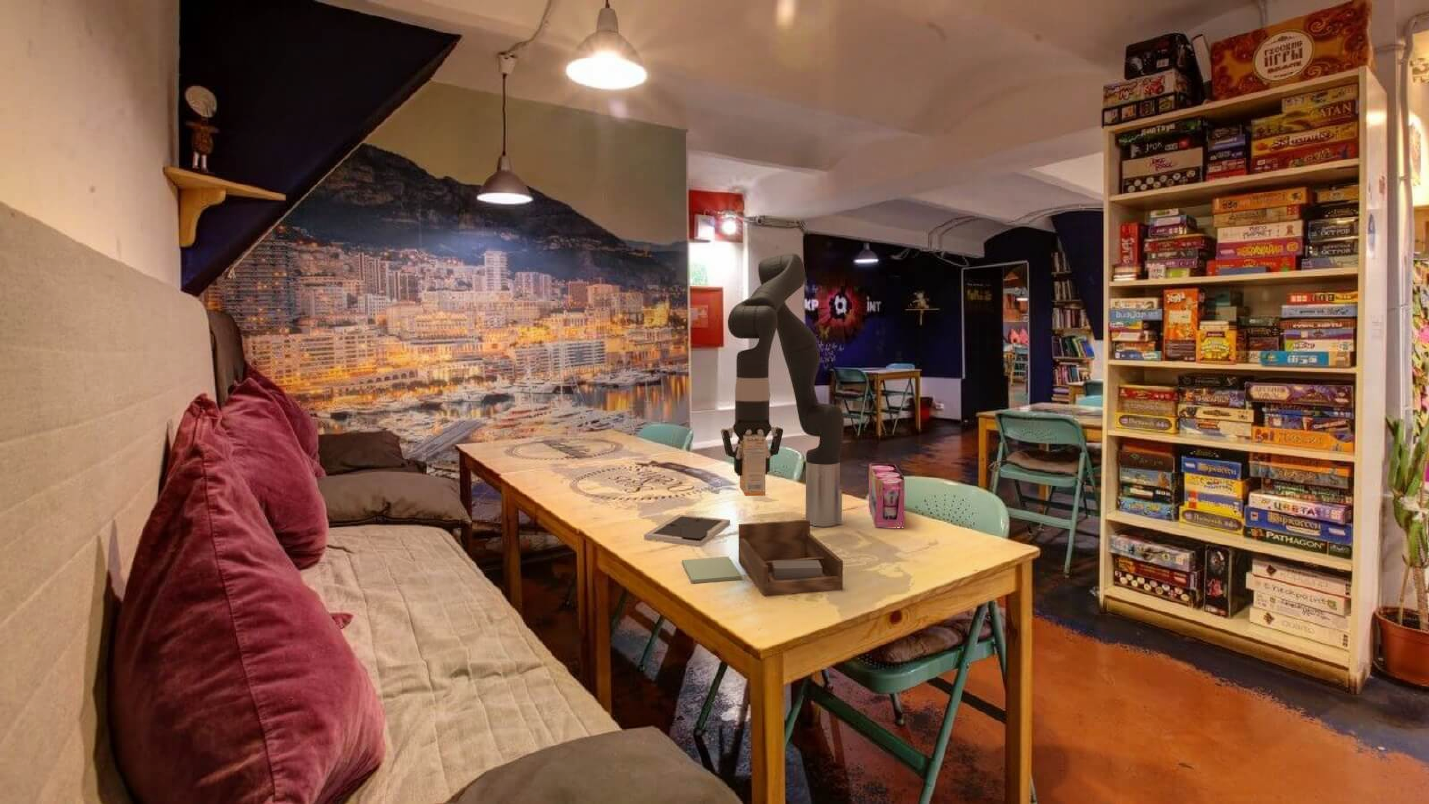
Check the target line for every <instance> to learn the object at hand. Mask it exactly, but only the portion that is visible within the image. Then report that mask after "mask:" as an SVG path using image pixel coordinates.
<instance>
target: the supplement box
mask: <svg viewBox="0 0 1429 804" xmlns="http://www.w3.org/2000/svg"><path fill="white" fill-rule="evenodd" d="M740 442H741V441H740ZM766 442H767V437H765V436H763V435H757V434H751V435H743V454H742V457H741V459H742V476H739V488H740V490H741V491H742V493H743V496H745V497H759V496H760V497H764V496H766V475H765V469H766Z"/></svg>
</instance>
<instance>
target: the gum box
mask: <svg viewBox="0 0 1429 804" xmlns="http://www.w3.org/2000/svg"><path fill="white" fill-rule="evenodd" d="M905 480H906V479H905V476H904V475H903V474H902V472H901V471H900V470H899V469H898V467H897V465H896V463H869V465H868V510H869V509H870V510H869V512H870V515H872V516H871V519H872V522H873V521H874V522H873V524H874V527H875V528H876V527H896V528H895V529H898V528H897V527H900V528H902V527H904V528H905V499H906V498H905V485H906V484H905V482H906V481H905ZM900 528H899V529H900Z"/></svg>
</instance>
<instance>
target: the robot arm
mask: <svg viewBox="0 0 1429 804" xmlns="http://www.w3.org/2000/svg"><path fill="white" fill-rule="evenodd" d="M757 268H758V269H757V270H758V278H759V283H760V285H759V286H758V287H757V288H756V290H754V292H753V293H752V295H751V296H750V297H749V298H747V299H744V300H742V301H741V302H739V303H738V304H736V305H735V306H734V307H733V308H732V309H731V310H730V312H729V315H728V318H727V328H728V331H729V333H730V334H731V335H732V336H733V337H734V338H737V339H740V340H743V339H744V340H746V339H747V340H749V339H752V340H758V341H757V344H756V345H755V346H754V347H752V348H748V349H744V350H740V351H739V352H737V355H736V359H735V361H736V362H735V363H736V374H735V375H736V376H735V377H736V379H735V385H734V386H735V387H734V388H735V389H734V391H735V392H734V423H733V425H732V427H730V428H726V429H725V428H722V429H721V430H720V434H721V438H722V442H723V443H722V444H723V447H724V452H725V454H726V455H727V456H728V457H731V458H733V470H734V473H736V475H737V476H738V477H740V476H742V459H741V457H742V454H743V435H751V434H757V435H763V436H765V437H766V438H767V437H768V435H769V434H770V433H771V436H772V440H771V443H770V448H769V446H768V443H767V441H766V469H765V476H767V475H768V473H769V472H770V470H771V467H770V466H771V457H773V456H776V455H778V454H779V452H780V447H781V443H782V438H783V433H784V429H783V428H781V427H778V426H776V427H775V426H772V424H771V423H770V398H771V392H770V391H771V390H770V389H771V388H770V381H769V380H770V379H769V374H770V373H769V372H770V371H769V368H770V367H769V365H770V362H769V361H770V354H771V348H772V344H773V341H774V337H775V334H776V332H777V336H778V339H779V342H780V343H779V344H780V347H781V350H782V354H783V358H784V361H785V364H786V367H787V370H788V374H789V377H790V381H791V386H792V389H793V393H794V398H795V399H794V400H795V404H796V410H797V415H798V420H799V424H800V427H801V429H802V431H803V432H804V433H805V434H806V435H808V436H811V437H817V438H819V442H818V445H817V446H816V447H815V448H812V449H811V448H810V449H808V450H807V451H806V454H805V520H810V526H814V527H825V528H827V527H828V528H829V527H834V526H838V525H842V524H843V523H842V521H843V520H842V519H843V490H842V489H840V479H841V478H840V468H841V467H840V466H841V462H840V461H841V455H842V451H843V447H844V446H843V445H844V443H843V442H844V428H845V426H844V425H845V417H844V413H843V410H842V409H841V407H840V406H838V405H836V404H828V403H820V402H819V400H818V397H817V393H816V389H815V380H816V377H817V375H818V371H819V368H820V364H821V356H820V350H819V347H818V343H817V339H816V336H815V334H814V332H813V331H812V329H811V328H810V327H809V326H807V324H806V323H805V322H804V321H803V320H801V319H800V318H799V317H798V316H797V315H795V313H794V312H792V310H791V309H790V308H789V306H788V304H787V303H786V301H787V300H788V299H789V298H790V297H791V296H793V294H794V293H796V292H797V291H798V290H800V289H801V288H802V287H803V285H804V283H805V282H806V281H805V280H806V270H805V265H804V262H803V260H802V257H800V255H799V254H796V253H794V252H793V253H786V254H781V255H777V256H773V257H769V258H766V259H763V260H761V261H760V262H759V263H758V267H757ZM733 434H735V435H736V437H737V438H738V439H737V441H736V445H735V449H733V447H732V440H731V439H732V438H733ZM740 441H741V442H740Z"/></svg>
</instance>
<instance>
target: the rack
mask: <svg viewBox="0 0 1429 804" xmlns="http://www.w3.org/2000/svg"><path fill="white" fill-rule="evenodd" d="M797 560H819V562H820V565H821V567H822V573H823V574H824V575H825V576H826V577H819V578H807V579H795V580H783V581H771V582H768V573H770V572H772V561H797ZM738 563H739V564H740V566H741V567H742V569H743V570H744V571H745V573H746V574H747V576H748V577H749V579H750V580H751V581H752V582H753V583H754V585H755V586H756V588H757V589H758V590H759V592H760V593H761V594H762V596H763V597H766V596H768V597H769V596H779V595H790V594H803V593H813V592H822V591H834V590H843V586H844V585H843V583H844V581H843V578H844V573H843V572H844V571H843V570H844V561H843V560H842V558H840V557H839V556H838V555H836V554H835V553H834V552H833V551H832V550H831V549H830V548H828V547H827V546H826V545H825V544H823V543H822V542H821V541H820V540H819V539H818V538H816V537H815V536H814V535H813V534H811V525H810V520H806V519H799V520H798V519H795V520H782V521H769V522H766V521H765V522H752V523H738Z"/></svg>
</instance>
